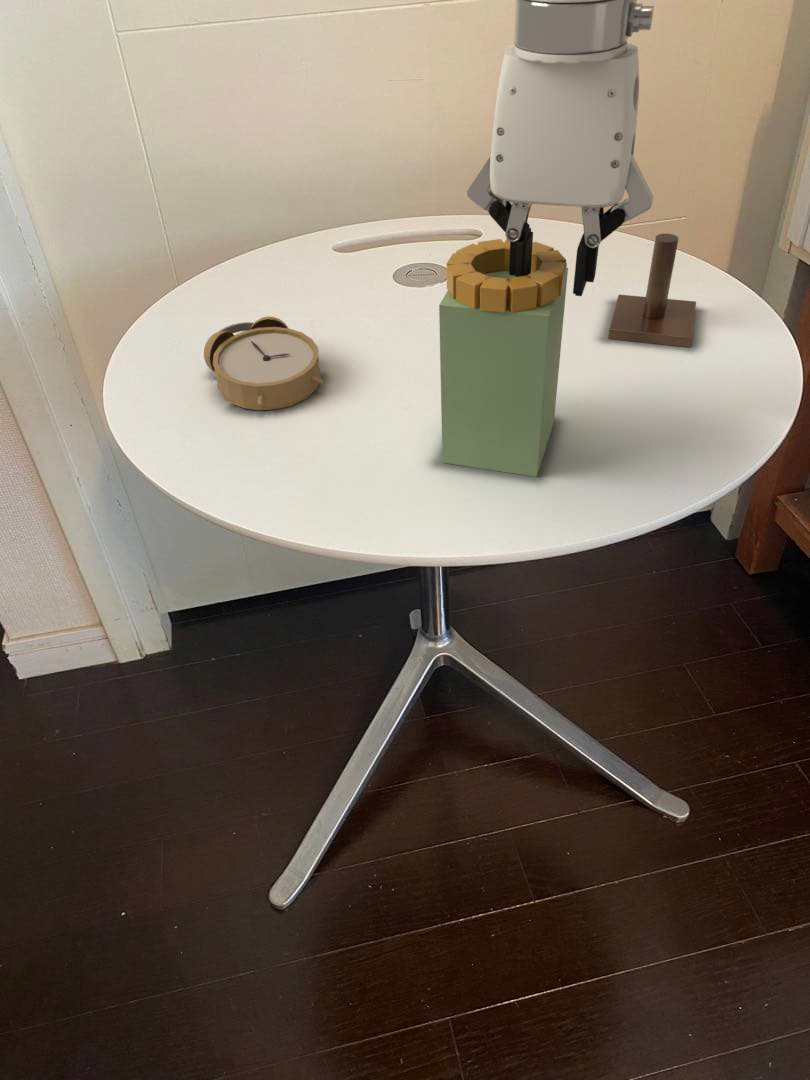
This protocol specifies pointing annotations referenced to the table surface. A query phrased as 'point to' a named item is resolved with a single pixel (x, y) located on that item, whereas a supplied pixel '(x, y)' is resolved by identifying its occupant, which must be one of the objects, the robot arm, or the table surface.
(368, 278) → the table surface
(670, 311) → the peg stand
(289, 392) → the alarm clock
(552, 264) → the brass ring
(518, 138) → the robot arm
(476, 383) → the sage green upright pillar
